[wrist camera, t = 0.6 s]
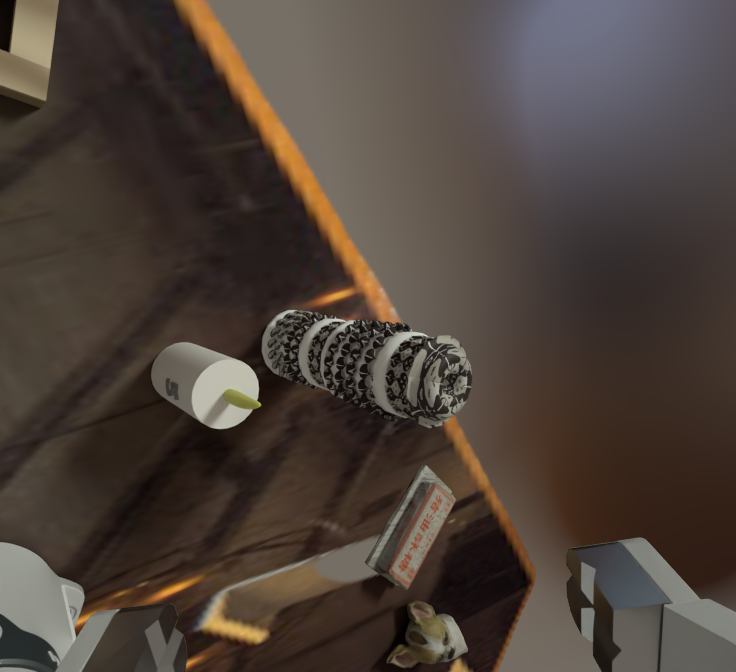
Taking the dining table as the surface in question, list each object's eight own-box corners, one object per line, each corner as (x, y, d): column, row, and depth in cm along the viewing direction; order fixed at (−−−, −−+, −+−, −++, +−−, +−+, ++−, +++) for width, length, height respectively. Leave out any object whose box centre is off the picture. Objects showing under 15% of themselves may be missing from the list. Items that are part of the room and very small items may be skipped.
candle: (147, 345, 47) (210, 373, 36) (211, 339, 51) (285, 364, 40) (149, 406, 48) (212, 453, 36) (212, 396, 52) (284, 435, 41)
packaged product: (414, 598, 74) (383, 577, 69) (393, 583, 78) (361, 561, 72) (467, 498, 81) (443, 471, 75) (445, 487, 84) (420, 461, 79)
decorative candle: (250, 376, 55) (405, 439, 36) (268, 298, 55) (431, 322, 36) (312, 384, 61) (472, 441, 42) (328, 314, 61) (494, 341, 43)
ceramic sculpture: (464, 688, 80) (410, 691, 71) (427, 657, 87) (373, 655, 78) (485, 624, 82) (435, 619, 73) (448, 598, 89) (397, 590, 80)
